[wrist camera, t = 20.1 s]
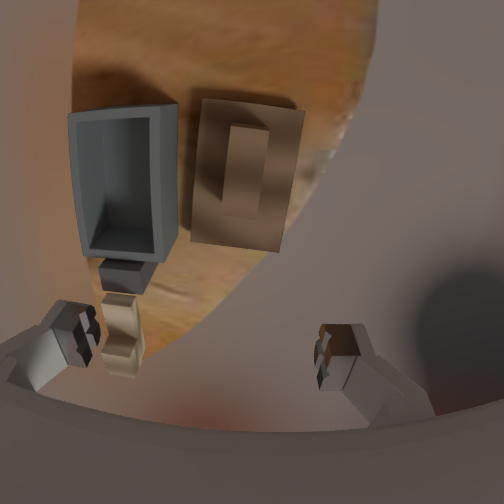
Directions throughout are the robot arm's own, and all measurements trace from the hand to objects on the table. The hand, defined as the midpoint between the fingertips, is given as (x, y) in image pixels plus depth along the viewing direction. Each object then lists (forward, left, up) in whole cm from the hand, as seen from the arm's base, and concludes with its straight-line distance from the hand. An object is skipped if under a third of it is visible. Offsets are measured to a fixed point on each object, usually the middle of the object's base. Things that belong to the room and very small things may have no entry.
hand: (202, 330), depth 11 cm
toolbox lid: (+1, +1, -26) cm, 26 cm away
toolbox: (+8, -9, -27) cm, 30 cm away
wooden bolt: (+21, -3, -19) cm, 28 cm away
